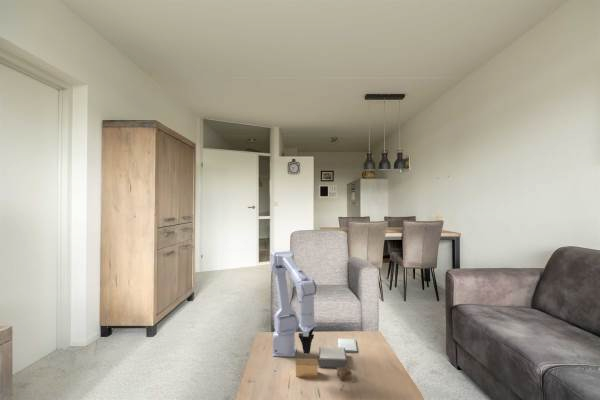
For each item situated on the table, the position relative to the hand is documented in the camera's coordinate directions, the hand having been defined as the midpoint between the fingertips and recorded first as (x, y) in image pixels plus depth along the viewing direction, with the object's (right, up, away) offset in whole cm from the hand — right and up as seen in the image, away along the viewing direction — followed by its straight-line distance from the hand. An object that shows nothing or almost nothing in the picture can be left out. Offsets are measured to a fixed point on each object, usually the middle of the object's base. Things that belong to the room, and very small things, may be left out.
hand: (307, 348), depth 115 cm
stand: (+11, -10, +10) cm, 17 cm away
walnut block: (+14, -10, -3) cm, 17 cm away
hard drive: (+19, -11, +23) cm, 32 cm away
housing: (0, -10, -1) cm, 10 cm away
